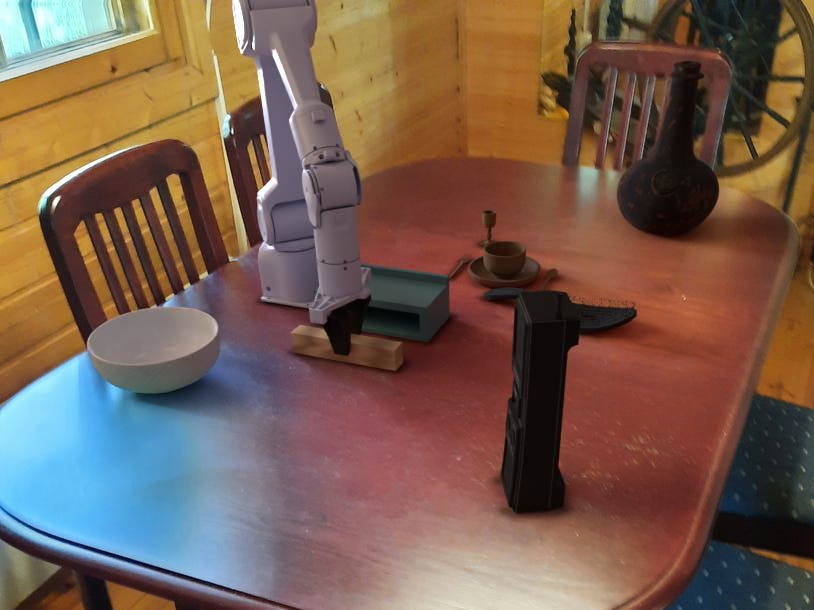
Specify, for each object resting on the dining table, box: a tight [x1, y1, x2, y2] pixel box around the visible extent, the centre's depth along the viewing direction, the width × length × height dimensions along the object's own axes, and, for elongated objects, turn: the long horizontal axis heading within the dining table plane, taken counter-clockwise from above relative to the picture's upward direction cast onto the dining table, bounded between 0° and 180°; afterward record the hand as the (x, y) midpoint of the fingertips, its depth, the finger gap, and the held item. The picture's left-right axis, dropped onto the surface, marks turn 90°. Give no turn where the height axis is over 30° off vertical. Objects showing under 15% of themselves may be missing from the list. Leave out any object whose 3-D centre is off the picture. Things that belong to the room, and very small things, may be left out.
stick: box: [290, 324, 404, 372], centre depth 120 cm, size 16×3×3 cm, turn 68°
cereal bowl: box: [86, 306, 222, 394], centre depth 115 cm, size 17×17×7 cm
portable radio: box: [500, 289, 581, 514], centre depth 88 cm, size 8×6×25 cm
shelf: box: [314, 262, 451, 343], centre depth 128 cm, size 18×9×7 cm, turn 68°
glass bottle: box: [616, 60, 720, 236], centre depth 150 cm, size 18×18×28 cm
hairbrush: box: [483, 287, 638, 334], centre depth 129 cm, size 8×4×25 cm
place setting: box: [449, 209, 559, 291], centre depth 143 cm, size 18×20×6 cm
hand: (346, 348), depth 120 cm, fingers closed on stick, 2 cm apart
